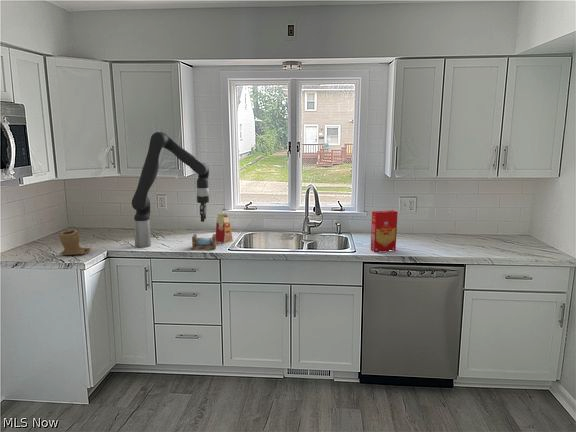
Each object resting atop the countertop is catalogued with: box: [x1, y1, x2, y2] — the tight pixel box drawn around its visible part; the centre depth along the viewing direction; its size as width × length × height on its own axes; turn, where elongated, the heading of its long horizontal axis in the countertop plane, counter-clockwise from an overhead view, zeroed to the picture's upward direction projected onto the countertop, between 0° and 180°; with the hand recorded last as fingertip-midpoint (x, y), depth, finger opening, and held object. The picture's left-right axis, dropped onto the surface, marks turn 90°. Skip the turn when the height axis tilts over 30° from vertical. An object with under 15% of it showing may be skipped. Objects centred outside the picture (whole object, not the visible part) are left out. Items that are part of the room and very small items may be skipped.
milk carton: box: [215, 212, 234, 245], centre depth 297 cm, size 9×9×20 cm
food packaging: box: [370, 210, 398, 253], centre depth 276 cm, size 15×5×25 cm, turn 106°
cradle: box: [191, 233, 217, 251], centre depth 281 cm, size 14×9×8 cm, turn 94°
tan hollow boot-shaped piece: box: [59, 229, 91, 256], centre depth 263 cm, size 15×12×15 cm
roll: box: [197, 237, 212, 246], centre depth 281 cm, size 10×6×6 cm, turn 94°
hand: (203, 220), depth 279 cm, fingers open, 8 cm apart
